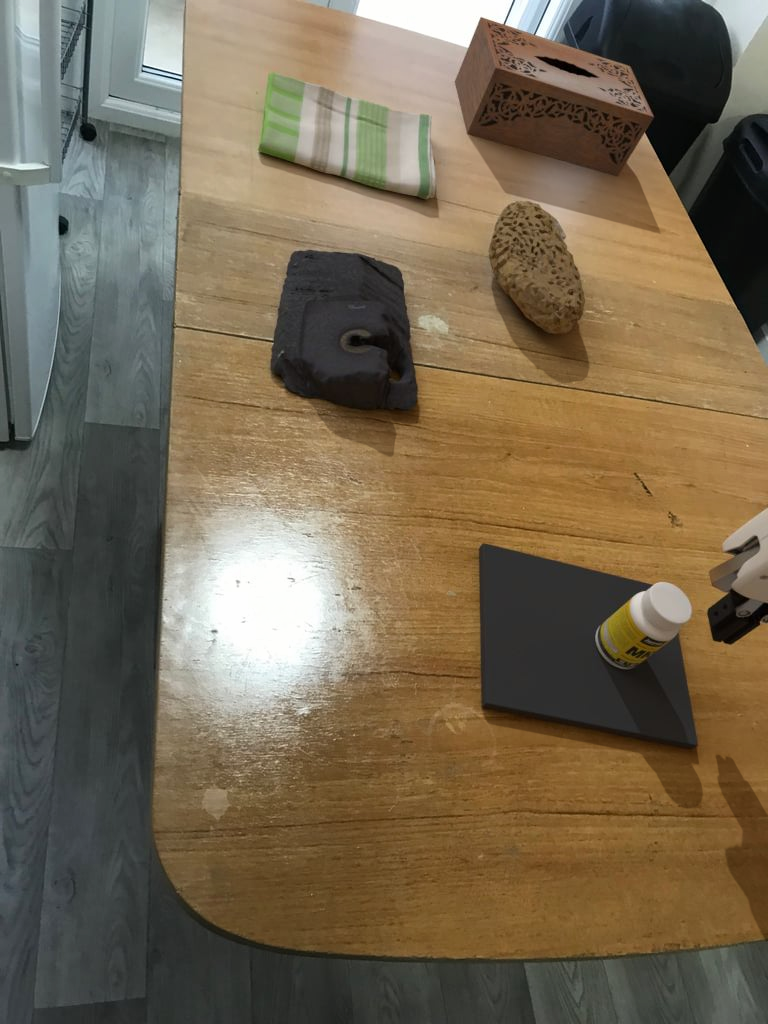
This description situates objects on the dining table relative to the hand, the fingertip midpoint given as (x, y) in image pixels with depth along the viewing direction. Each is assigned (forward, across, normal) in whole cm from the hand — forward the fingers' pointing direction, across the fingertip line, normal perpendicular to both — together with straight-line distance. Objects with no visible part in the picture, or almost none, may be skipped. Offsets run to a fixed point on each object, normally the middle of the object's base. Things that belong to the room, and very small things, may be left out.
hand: (718, 627), depth 72 cm
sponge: (+8, +12, -50) cm, 52 cm away
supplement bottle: (+7, +6, 0) cm, 9 cm away
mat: (+8, +9, 0) cm, 12 cm away
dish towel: (+8, +37, -68) cm, 78 cm away
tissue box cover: (+8, +8, -91) cm, 92 cm away
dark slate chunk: (+8, +34, -32) cm, 47 cm away
